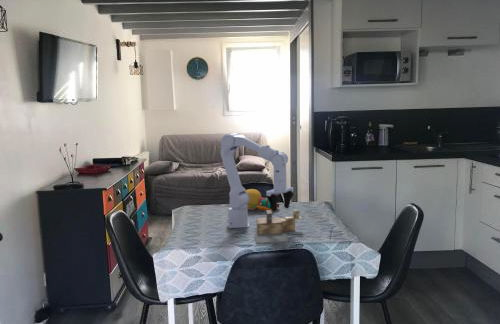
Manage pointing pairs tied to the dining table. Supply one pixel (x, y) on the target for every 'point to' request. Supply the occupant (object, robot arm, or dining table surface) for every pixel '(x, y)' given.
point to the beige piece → (294, 215)
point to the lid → (269, 219)
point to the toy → (258, 201)
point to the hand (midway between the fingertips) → (280, 209)
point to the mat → (272, 238)
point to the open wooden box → (277, 227)
